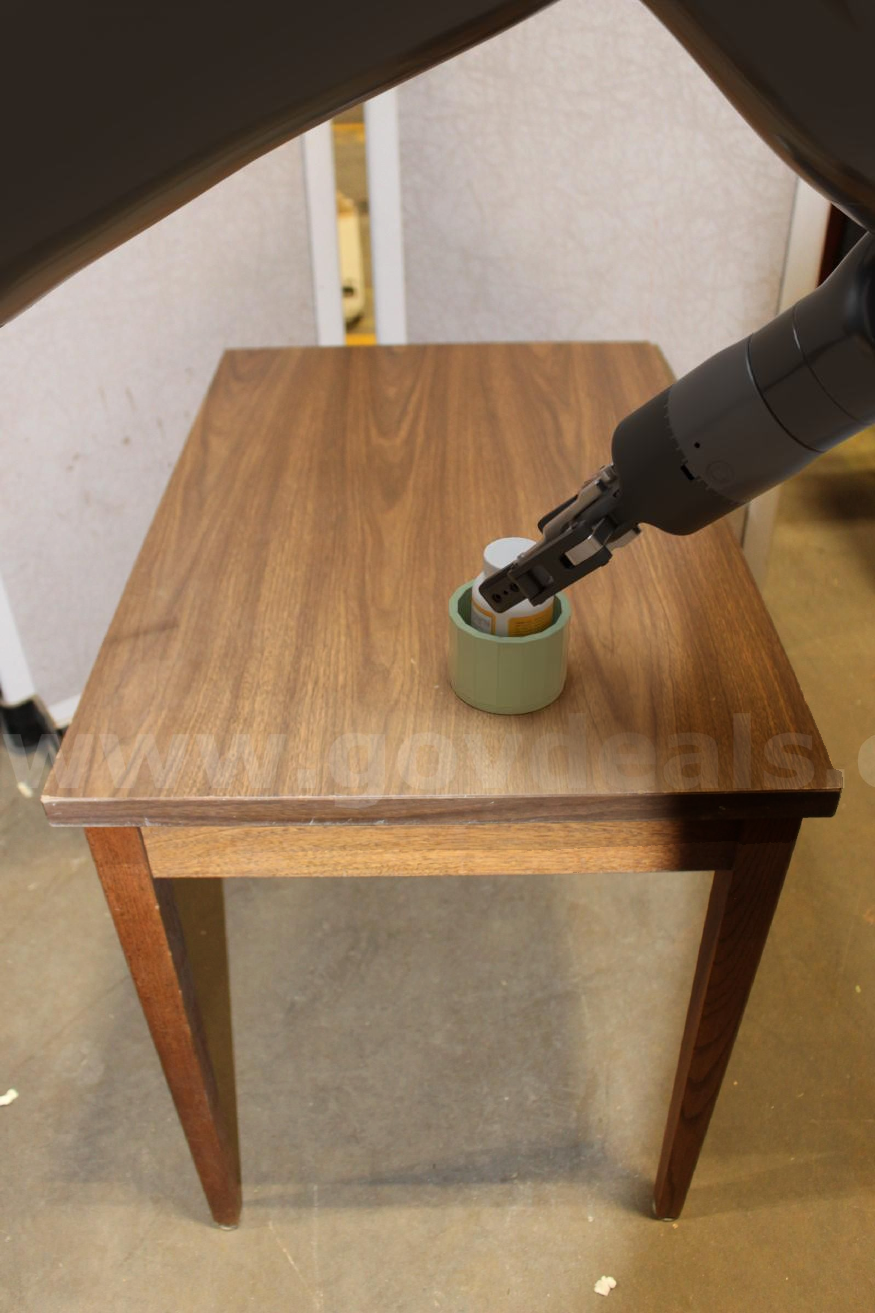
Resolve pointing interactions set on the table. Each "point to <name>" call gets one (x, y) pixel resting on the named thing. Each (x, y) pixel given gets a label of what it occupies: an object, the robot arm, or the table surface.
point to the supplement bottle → (522, 615)
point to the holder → (507, 660)
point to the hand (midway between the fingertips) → (519, 565)
